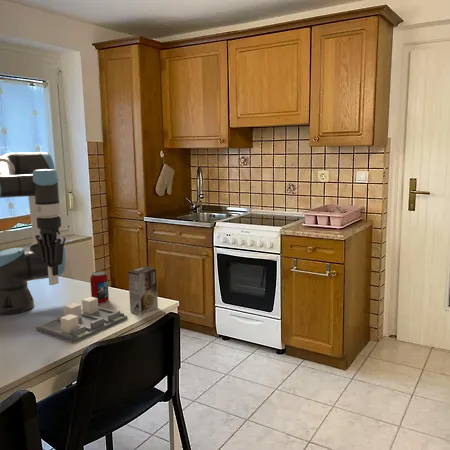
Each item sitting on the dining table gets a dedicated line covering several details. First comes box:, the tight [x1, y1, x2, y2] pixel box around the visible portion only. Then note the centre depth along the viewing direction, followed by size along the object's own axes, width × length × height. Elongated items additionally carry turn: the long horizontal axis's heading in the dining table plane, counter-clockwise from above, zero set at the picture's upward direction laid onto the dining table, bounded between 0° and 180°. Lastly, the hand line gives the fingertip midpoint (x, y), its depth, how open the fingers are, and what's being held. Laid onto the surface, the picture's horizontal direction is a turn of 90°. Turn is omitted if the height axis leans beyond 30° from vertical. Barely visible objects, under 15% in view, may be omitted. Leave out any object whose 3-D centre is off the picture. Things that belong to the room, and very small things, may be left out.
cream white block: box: [81, 296, 99, 314], centre depth 170 cm, size 4×4×5 cm
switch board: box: [35, 306, 128, 344], centre depth 161 cm, size 20×24×3 cm
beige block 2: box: [59, 314, 79, 334], centre depth 152 cm, size 4×4×5 cm
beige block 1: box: [63, 302, 82, 319], centre depth 163 cm, size 4×4×5 cm
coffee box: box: [127, 265, 159, 316], centre depth 173 cm, size 9×6×16 cm
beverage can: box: [89, 270, 110, 305], centre depth 183 cm, size 7×7×12 cm
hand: (53, 283), depth 154 cm, fingers closed
